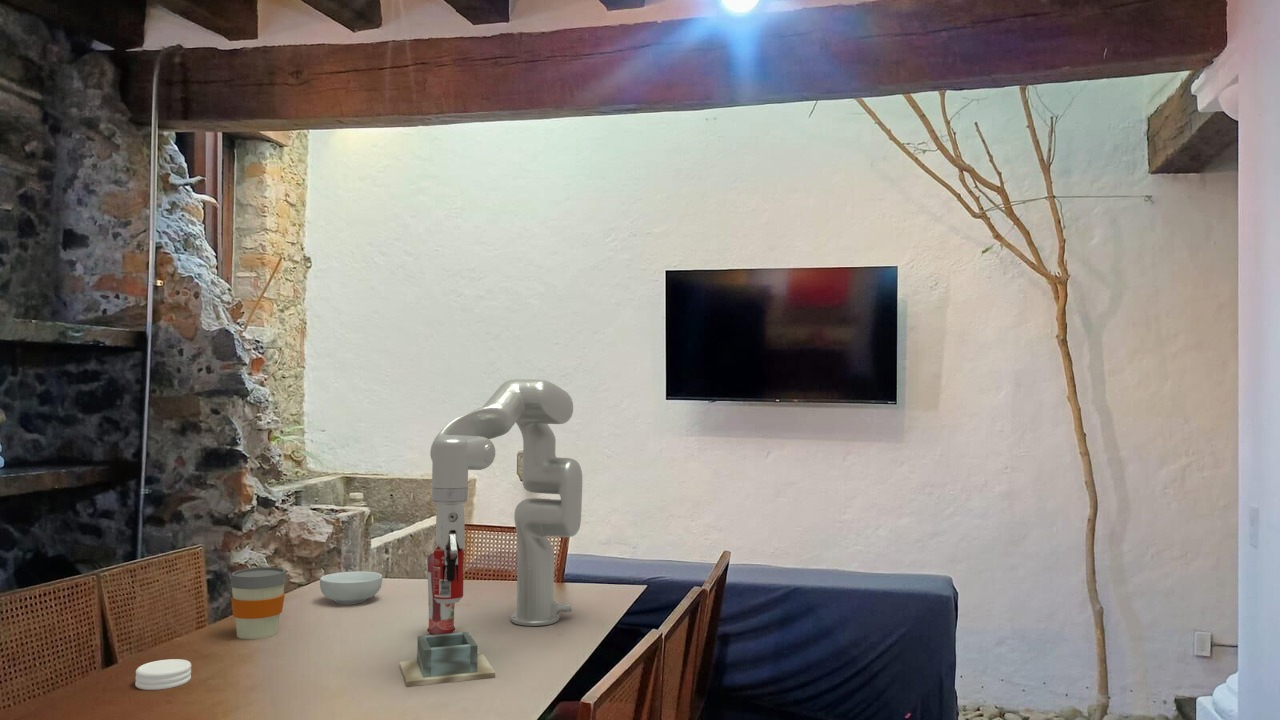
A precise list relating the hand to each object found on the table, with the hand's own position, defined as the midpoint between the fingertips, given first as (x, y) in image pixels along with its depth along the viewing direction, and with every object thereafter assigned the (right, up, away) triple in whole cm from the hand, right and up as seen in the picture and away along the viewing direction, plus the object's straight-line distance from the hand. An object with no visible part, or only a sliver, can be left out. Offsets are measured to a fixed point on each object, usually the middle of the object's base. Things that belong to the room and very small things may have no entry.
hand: (447, 580), depth 187 cm
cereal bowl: (-41, -21, +61) cm, 76 cm away
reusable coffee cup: (-52, -20, +27) cm, 62 cm away
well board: (0, -19, -1) cm, 19 cm away
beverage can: (0, -4, -1) cm, 5 cm away
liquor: (-8, -20, +28) cm, 35 cm away
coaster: (-56, -19, -9) cm, 60 cm away
